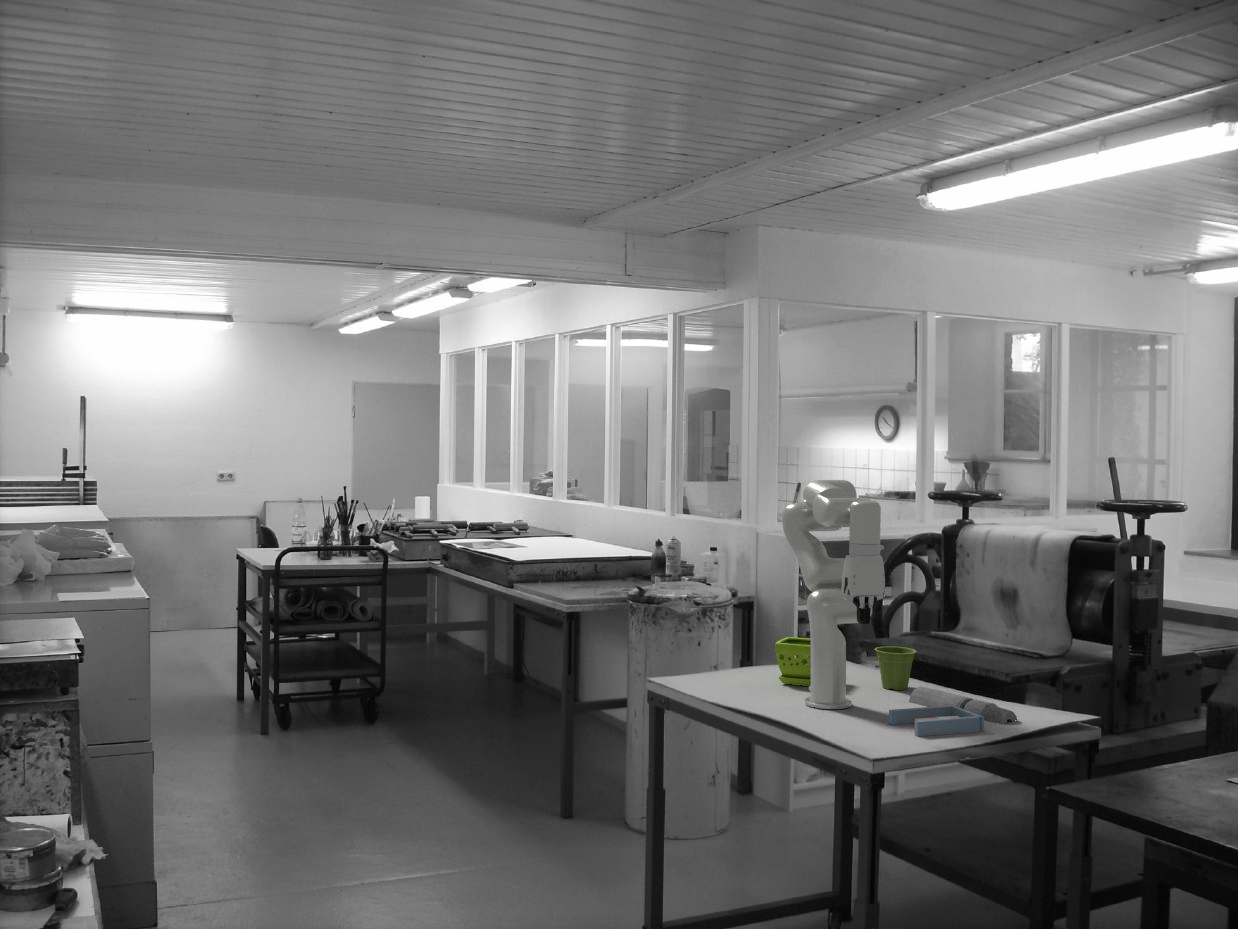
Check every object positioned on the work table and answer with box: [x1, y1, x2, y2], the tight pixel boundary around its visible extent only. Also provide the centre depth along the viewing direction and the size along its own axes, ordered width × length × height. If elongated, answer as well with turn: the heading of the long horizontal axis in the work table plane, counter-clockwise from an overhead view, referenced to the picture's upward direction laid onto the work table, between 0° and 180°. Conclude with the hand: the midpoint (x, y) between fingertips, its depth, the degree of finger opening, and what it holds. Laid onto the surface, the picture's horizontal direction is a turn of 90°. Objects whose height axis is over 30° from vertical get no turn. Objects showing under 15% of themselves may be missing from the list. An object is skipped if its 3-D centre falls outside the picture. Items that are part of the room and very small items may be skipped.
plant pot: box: [874, 646, 917, 691], centre depth 313 cm, size 12×12×11 cm
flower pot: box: [774, 636, 811, 687], centre depth 320 cm, size 14×14×13 cm
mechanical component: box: [908, 686, 1018, 725], centre depth 285 cm, size 9×4×30 cm
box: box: [888, 705, 985, 737], centre depth 267 cm, size 13×19×4 cm
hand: (863, 623), depth 267 cm, fingers closed
